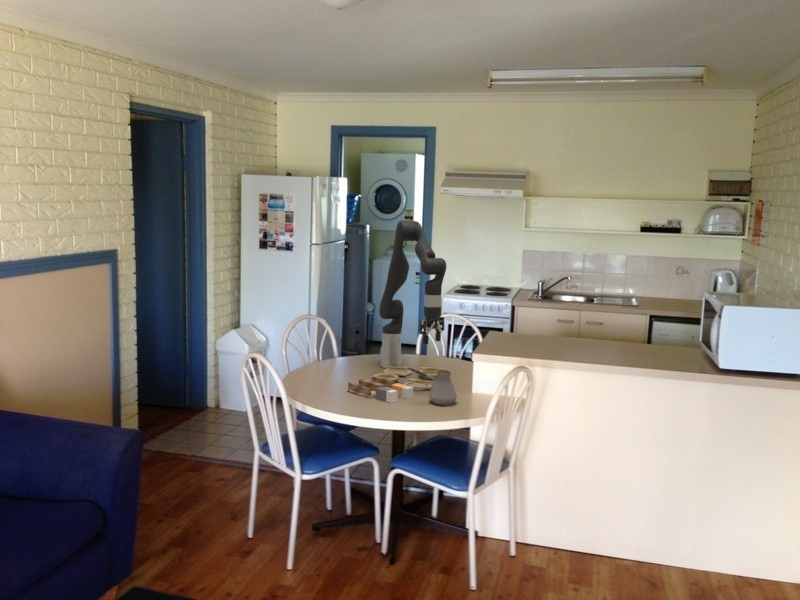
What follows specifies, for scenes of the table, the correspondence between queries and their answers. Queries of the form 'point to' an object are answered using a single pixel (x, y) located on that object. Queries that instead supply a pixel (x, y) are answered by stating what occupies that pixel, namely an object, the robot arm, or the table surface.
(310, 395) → the table surface
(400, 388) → the orange white rectangular block
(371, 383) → the brown wooden divided tray
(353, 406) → the table surface
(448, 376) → the coffee pot
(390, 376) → the tableware set
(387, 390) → the two-tone square pillar
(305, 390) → the table surface
